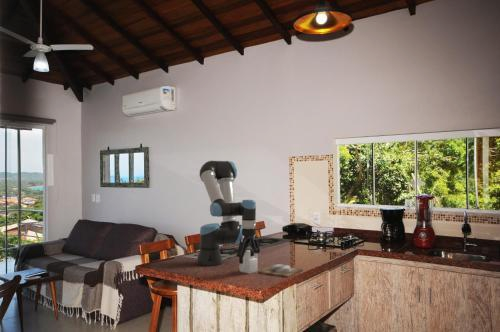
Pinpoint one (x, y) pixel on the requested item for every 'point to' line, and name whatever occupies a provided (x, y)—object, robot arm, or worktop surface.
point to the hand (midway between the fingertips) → (248, 267)
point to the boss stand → (280, 270)
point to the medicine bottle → (250, 262)
